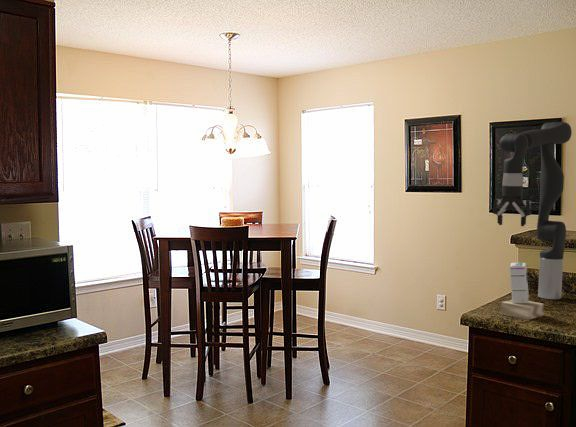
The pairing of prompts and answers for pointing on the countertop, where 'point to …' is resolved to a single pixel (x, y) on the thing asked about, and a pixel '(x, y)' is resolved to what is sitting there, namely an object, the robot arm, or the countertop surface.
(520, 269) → the syrup box
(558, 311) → the countertop surface
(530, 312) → the maple block
